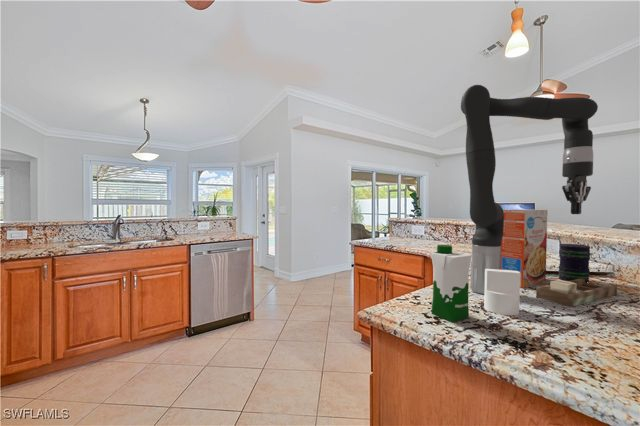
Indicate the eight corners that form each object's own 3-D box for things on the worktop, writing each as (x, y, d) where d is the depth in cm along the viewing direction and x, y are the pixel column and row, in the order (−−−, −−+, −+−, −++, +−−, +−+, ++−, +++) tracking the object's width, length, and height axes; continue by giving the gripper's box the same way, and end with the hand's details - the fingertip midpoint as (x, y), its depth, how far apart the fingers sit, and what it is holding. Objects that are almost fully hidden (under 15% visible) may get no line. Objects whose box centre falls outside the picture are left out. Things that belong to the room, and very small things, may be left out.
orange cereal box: (523, 288, 108) (524, 210, 107) (500, 283, 115) (501, 210, 114) (545, 279, 121) (547, 209, 120) (523, 275, 128) (525, 209, 127)
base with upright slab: (487, 313, 84) (488, 272, 83) (481, 303, 92) (482, 266, 92) (523, 317, 81) (524, 275, 80) (514, 306, 89) (514, 268, 89)
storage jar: (568, 282, 116) (569, 246, 116) (552, 276, 126) (553, 243, 126) (596, 284, 115) (597, 247, 114) (578, 277, 124) (579, 244, 124)
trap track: (571, 306, 89) (571, 295, 89) (536, 297, 98) (536, 287, 98) (616, 294, 101) (616, 284, 101) (581, 287, 110) (581, 278, 110)
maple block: (567, 297, 92) (568, 285, 92) (550, 292, 97) (550, 281, 96) (576, 295, 94) (576, 283, 94) (558, 291, 99) (558, 279, 98)
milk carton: (446, 308, 88) (447, 243, 87) (474, 318, 80) (475, 247, 79) (426, 313, 83) (427, 245, 83) (453, 324, 75) (454, 250, 75)
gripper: (581, 159, 88) (579, 214, 88) (602, 161, 93) (600, 214, 94) (552, 162, 95) (551, 214, 95) (574, 164, 100) (572, 213, 101)
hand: (575, 214), depth 95 cm, fingers closed
